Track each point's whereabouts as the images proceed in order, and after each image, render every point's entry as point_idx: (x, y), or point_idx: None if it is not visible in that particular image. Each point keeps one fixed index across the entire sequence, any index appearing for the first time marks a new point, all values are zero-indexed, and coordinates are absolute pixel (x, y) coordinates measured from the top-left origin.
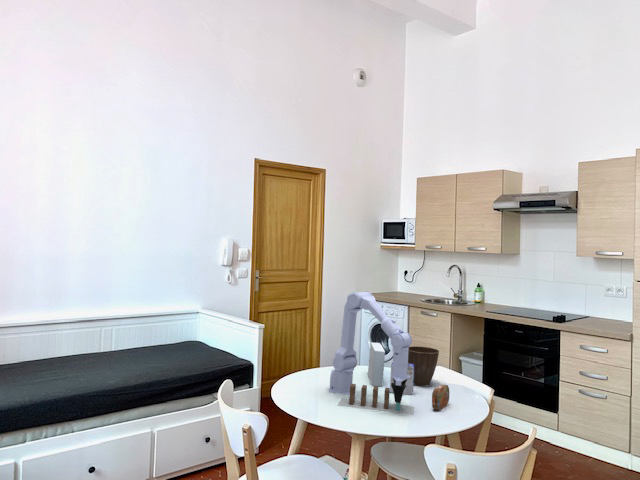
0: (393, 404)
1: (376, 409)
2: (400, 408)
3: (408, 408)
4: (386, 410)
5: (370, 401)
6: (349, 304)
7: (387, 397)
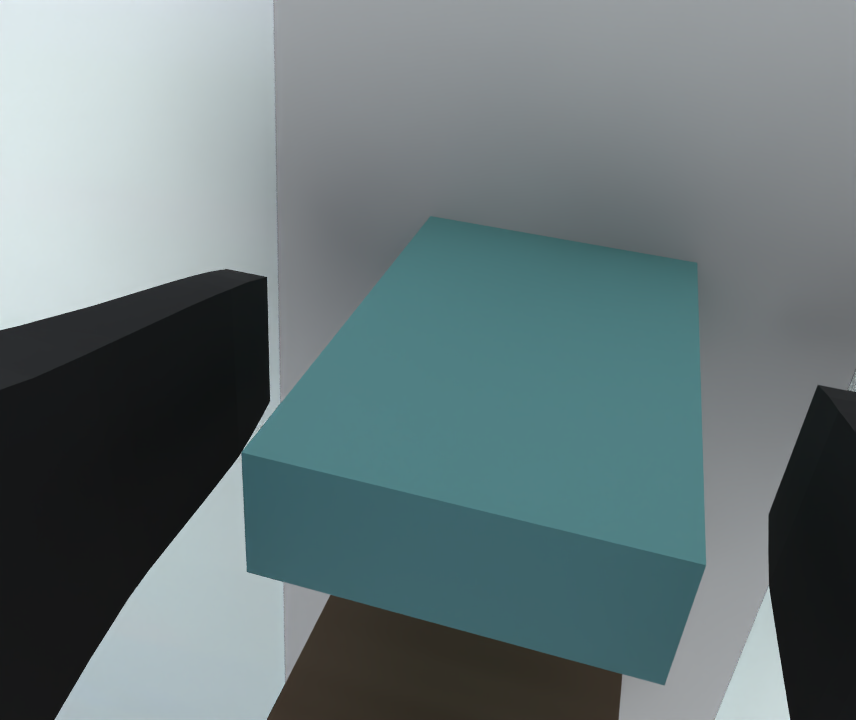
0: (297, 337)
1: (686, 662)
2: (519, 227)
3: (468, 24)
4: (716, 521)
5: (288, 655)
6: None
7: (619, 697)
